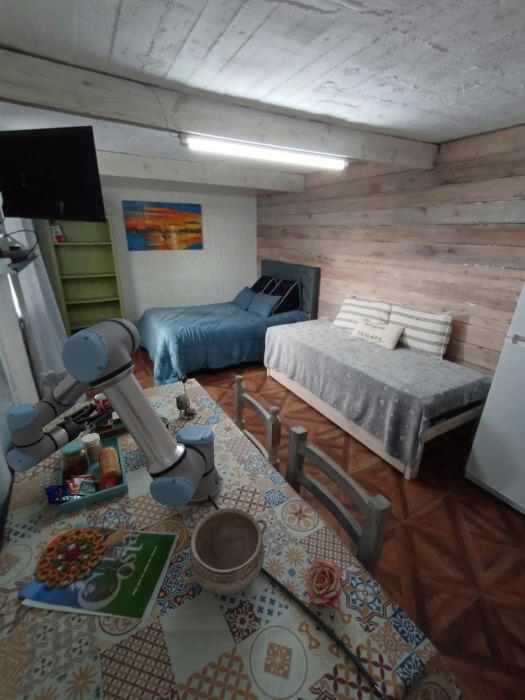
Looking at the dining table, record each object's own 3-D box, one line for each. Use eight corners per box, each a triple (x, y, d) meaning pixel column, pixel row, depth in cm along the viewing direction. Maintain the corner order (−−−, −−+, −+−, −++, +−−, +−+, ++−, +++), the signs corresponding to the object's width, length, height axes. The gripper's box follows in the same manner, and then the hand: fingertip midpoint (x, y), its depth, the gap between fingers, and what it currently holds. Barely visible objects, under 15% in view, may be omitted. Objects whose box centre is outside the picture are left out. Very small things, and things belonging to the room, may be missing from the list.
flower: (322, 557, 85) (311, 550, 80) (355, 575, 79) (345, 568, 74) (309, 598, 80) (296, 592, 76) (342, 619, 74) (331, 615, 70)
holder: (134, 429, 139) (133, 423, 138) (94, 441, 131) (93, 435, 130) (130, 420, 146) (129, 414, 145) (91, 431, 137) (90, 425, 136)
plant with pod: (171, 418, 148) (168, 380, 141) (190, 408, 157) (187, 371, 150) (183, 424, 144) (180, 385, 137) (201, 413, 152) (199, 376, 145)
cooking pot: (202, 639, 69) (199, 604, 64) (168, 570, 83) (163, 536, 78) (287, 569, 83) (289, 536, 79) (245, 520, 97) (246, 489, 93)
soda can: (96, 425, 122) (90, 398, 118) (105, 417, 127) (100, 391, 123) (107, 427, 121) (102, 400, 117) (116, 420, 126) (112, 393, 121)
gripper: (44, 437, 110) (98, 405, 131) (83, 450, 104) (133, 414, 125) (39, 419, 108) (95, 389, 128) (79, 431, 102) (131, 398, 122)
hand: (114, 401), depth 126 cm, fingers closed on soda can, 5 cm apart
